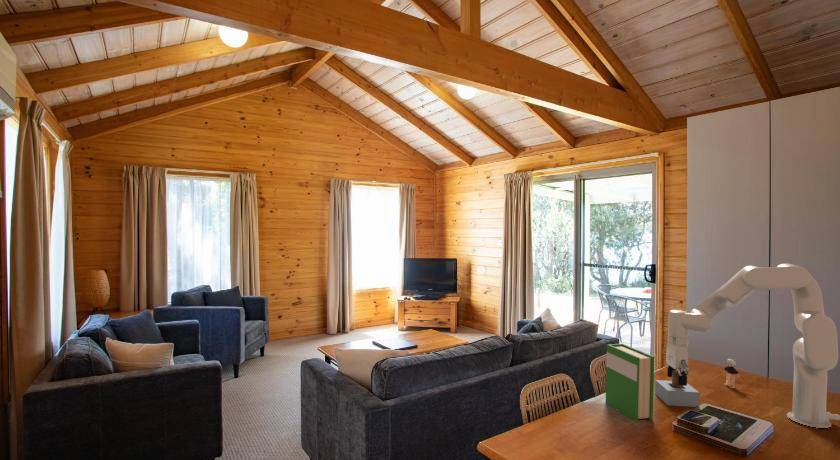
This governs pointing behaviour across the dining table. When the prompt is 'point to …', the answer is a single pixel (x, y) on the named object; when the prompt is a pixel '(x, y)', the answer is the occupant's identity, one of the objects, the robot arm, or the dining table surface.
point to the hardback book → (630, 381)
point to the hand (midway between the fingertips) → (676, 380)
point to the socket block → (676, 394)
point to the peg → (675, 379)
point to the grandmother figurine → (730, 373)
